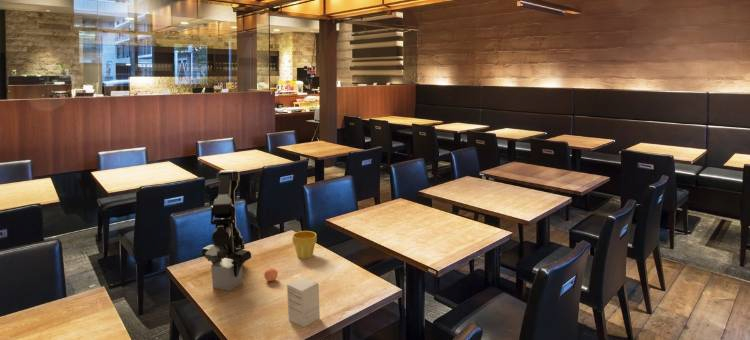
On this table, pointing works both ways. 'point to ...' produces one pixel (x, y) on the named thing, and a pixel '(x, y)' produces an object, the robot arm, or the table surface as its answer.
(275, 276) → the ball
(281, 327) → the table surface
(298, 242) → the plant pot
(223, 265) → the grey cube
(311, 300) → the supplement box
